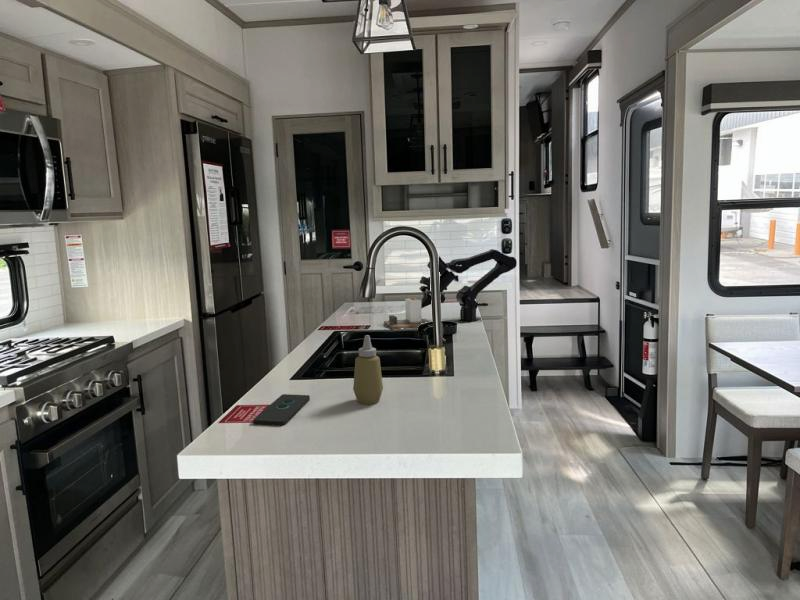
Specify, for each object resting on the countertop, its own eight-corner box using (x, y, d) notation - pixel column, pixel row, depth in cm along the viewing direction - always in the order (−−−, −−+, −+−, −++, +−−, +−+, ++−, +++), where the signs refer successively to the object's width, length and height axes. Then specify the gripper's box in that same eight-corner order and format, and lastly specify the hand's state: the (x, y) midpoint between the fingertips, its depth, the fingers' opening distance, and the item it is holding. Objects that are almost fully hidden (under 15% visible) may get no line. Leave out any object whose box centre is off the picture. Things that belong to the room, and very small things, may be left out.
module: (416, 319, 261) (415, 295, 259) (421, 322, 254) (421, 298, 252) (405, 320, 259) (405, 296, 257) (410, 323, 252) (410, 298, 250)
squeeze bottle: (389, 399, 157) (388, 334, 154) (372, 408, 150) (371, 340, 147) (364, 394, 161) (362, 331, 158) (347, 403, 154) (345, 336, 152)
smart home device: (311, 394, 158) (284, 421, 138) (311, 400, 158) (284, 428, 139) (282, 393, 159) (251, 419, 140) (282, 399, 160) (252, 426, 140)
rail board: (421, 320, 265) (421, 311, 264) (432, 326, 252) (432, 316, 251) (383, 323, 260) (383, 314, 259) (393, 329, 247) (392, 319, 246)
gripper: (423, 267, 264) (400, 293, 262) (438, 272, 246) (413, 299, 245) (439, 284, 268) (416, 309, 266) (455, 289, 250) (431, 316, 248)
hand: (419, 308), depth 256 cm, fingers closed, pressing on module
